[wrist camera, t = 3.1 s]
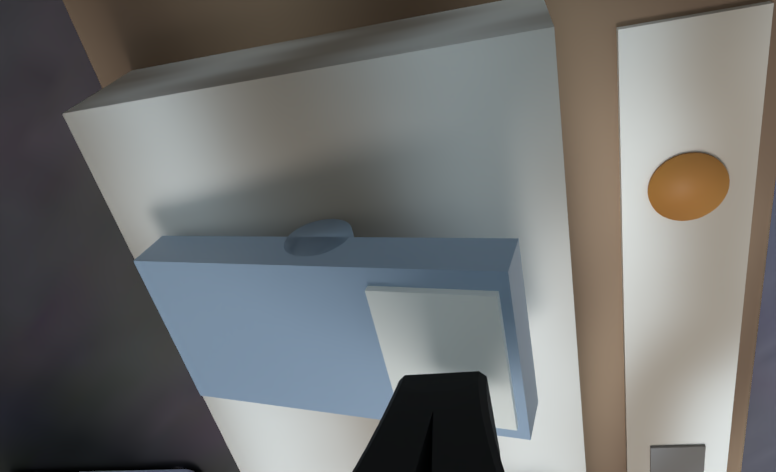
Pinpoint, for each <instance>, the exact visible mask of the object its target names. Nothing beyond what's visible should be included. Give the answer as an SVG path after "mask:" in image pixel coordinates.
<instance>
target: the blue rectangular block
mask: <svg viewBox="0 0 776 472" xmlns="http://www.w3.org/2000/svg"><path fill="white" fill-rule="evenodd" d="M134 263H135V265H136V267H137V269H138V271H139V273H140V275H141V277H142V279H143V281H144V283H145V285H146V287H147V289H148V291H149V293H150V295H151V297H152V299H153V301H154V303H155V305H156V307H157V309H158V311H159V313H160V315H161V317H162V319H163V321H164V323H165V325H166V327H167V329H168V331H169V333H170V335H171V337H172V339H173V341H174V343H175V345H176V347H177V349H178V351H179V353H180V355H181V357H182V359H183V361H184V363H185V365H186V367H187V369H188V371H189V373H190V375H191V377H192V379H193V381H194V383H195V385H196V387H197V389H198V391H199V393H200V395H201V396H208V397H216V398H223V399H230V400H238V401H245V402H253V403H260V404H267V405H275V406H282V407H290V408H297V409H304V410H312V411H319V412H327V413H334V414H341V415H349V416H356V417H364V418H371V419H378V420H381V418H382V416H383V414H384V412H385V410H386V408H387V406H388V404H389V402H390V400H391V398H392V395H393V393H394V391H395V389H396V387H397V384H398V382H399V380H400V379H401V378H402V377H403V376H404V375H417V374H435V373H453V372H472V371H480V372H481V373H483V374H484V375H486V376H487V380H488V386H489V392H490V397H491V403H492V409H493V415H494V420H495V426H496V432H497V436H504V437H512V438H519V439H526V440H531V436H532V431H533V426H534V421H535V416H536V411H537V406H538V395H537V387H536V378H535V370H534V362H533V354H532V345H531V337H530V329H529V320H528V312H527V304H526V295H525V287H524V279H523V270H522V262H521V254H520V246H519V238H401V237H354V235H353V231H352V227H351V225H350V224H349V223H348V222H346V221H344V220H340V219H323V220H318V221H314V222H311V223H308V224H306V225H304V226H302V227H300V228H298V229H296V230H295V231H293V232H292V233H291V234H290V235H289V236H288V237H269V236H161V237H160V238H159V239H158V240H157V241H156V242H155V243H153V244H152V245H151V246H150V247H149V248H148V249H146V250H145V251H144V252H143V253H142V254H141V255H140V256H138V257H137V258H136V259H135V260H134Z"/></svg>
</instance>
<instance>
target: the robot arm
mask: <svg viewBox="0 0 776 472" xmlns="http://www.w3.org/2000/svg"><path fill="white" fill-rule="evenodd" d="M81 472H194V471H192V470H189V469H167V470H124V471H81ZM352 472H505V471H504V468H503V465H502V462H501V458H500V449H499V443H498V438H497V432H496V426H495V420H494V415H493V409H492V403H491V397H490V392H489V386H488V380H487V376H486V375H484V374H483V373H481V372H480V371H472V372H453V373H435V374H417V375H404V376H403V377H402V378H401V379H400V380H399V382H398V384H397V387H396V389H395V391H394V393H393V395H392V398H391V400H390V402H389V404H388V406H387V408H386V410H385V412H384V414H383V416H382V418H381V420H380V422H379V424H378V426H377V428H376V430H375V432H374V433H373V435H372V437H371V439H370V441H369V443H368V445H367V447H366V448H365V450H364V452H363V454H362V455H361V457H360V459H359V461H358V462H357V464H356V466H355V468H354V469H353V471H352Z"/></svg>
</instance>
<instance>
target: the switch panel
mask: <svg viewBox="0 0 776 472" xmlns="http://www.w3.org/2000/svg"><path fill="white" fill-rule="evenodd" d="M63 3H64V5H65V7H66V9H67V11H68V14H69V16H70V18H71V20H72V22H73V25H74V27H75V29H76V31H77V33H78V36H79V38H80V40H81V42H82V44H83V47H84V49H85V51H86V53H87V55H88V58H89V60H90V62H91V64H92V66H93V69H94V71H95V73H96V75H97V77H98V80H99V82H100V84H101V86H102V89H101V90H100V91H98V92H96V93H95V94H93V95H92V96H90V97H88V98H87V99H85V100H83V101H82V102H80V103H79V104H77V105H75V106H74V107H72V108H71V109H69V110H67V111H66V112H64V113H62V114H63V116H64V118H65V120H66V122H67V124H68V126H69V128H70V130H71V132H72V134H73V136H74V138H75V140H76V142H77V144H78V147H79V149H80V151H81V153H82V155H83V157H84V159H85V161H86V163H87V165H88V167H89V169H90V171H91V173H92V175H93V177H94V179H95V181H96V183H97V185H98V187H99V189H100V191H101V193H102V195H103V197H104V199H105V201H106V203H107V205H108V207H109V209H110V211H111V213H112V215H113V217H114V219H115V221H116V223H117V225H118V227H119V229H120V231H121V233H122V235H123V237H124V239H125V241H126V243H127V245H128V247H129V249H130V251H131V253H132V255H133V257H134V259H136V258H137V257H138V256H140V255H141V254H142V253H143V252H144V251H145V250H146V249H148V248H149V247H150V246H151V245H152V244H153V243H155V242H156V241H157V240H158V239H159V238H160V237H161V236H269V237H288V236H289V235H290V234H291V233H292V232H293V231H295V230H296V229H298V228H300V227H302V226H304V225H306V224H308V223H311V222H314V221H318V220H323V219H340V220H344V221H346V222H348V223H349V224H350V225H351V227H352V231H353V235H354V237H401V238H519V246H520V254H521V262H522V270H523V279H524V287H525V295H526V304H527V312H528V320H529V329H530V337H531V345H532V354H533V362H534V370H535V378H536V387H537V395H538V406H537V411H536V416H535V421H534V426H533V431H532V436H531V440H526V439H519V438H512V437H504V436H497V438H498V443H499V449H500V458H501V462H502V465H503V468H504V471H505V472H741V466H742V458H743V449H744V441H745V432H746V424H747V416H748V407H749V399H750V390H751V382H752V373H753V365H754V357H755V348H756V340H757V331H758V323H759V314H760V306H761V298H762V289H763V281H764V272H765V264H766V256H767V247H768V239H769V230H770V222H771V213H772V205H773V197H774V188H775V180H776V0H63ZM203 398H204V400H205V402H206V404H207V406H208V408H209V410H210V412H211V414H212V416H213V418H214V420H215V422H216V424H217V426H218V428H219V430H220V432H221V434H222V436H223V438H224V440H225V442H226V444H227V446H228V448H229V450H230V452H231V454H232V456H233V458H234V460H235V462H236V464H237V466H238V468H239V470H240V472H352V471H353V469H354V468H355V466H356V464H357V462H358V461H359V459H360V457H361V455H362V454H363V452H364V450H365V448H366V447H367V445H368V443H369V441H370V439H371V437H372V435H373V433H374V432H375V430H376V428H377V426H378V424H379V422H380V420H378V419H371V418H364V417H356V416H349V415H341V414H334V413H327V412H319V411H312V410H304V409H297V408H290V407H282V406H275V405H267V404H260V403H253V402H245V401H238V400H230V399H223V398H216V397H208V396H203Z"/></svg>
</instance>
